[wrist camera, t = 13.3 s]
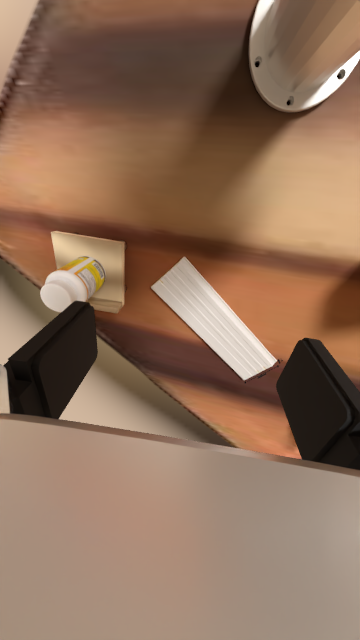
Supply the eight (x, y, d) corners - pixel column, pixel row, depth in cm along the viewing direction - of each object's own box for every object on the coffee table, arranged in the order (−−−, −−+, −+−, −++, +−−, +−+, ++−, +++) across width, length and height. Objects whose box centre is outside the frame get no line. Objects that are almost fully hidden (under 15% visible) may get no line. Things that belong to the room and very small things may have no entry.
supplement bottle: (70, 277, 37) (29, 304, 28) (79, 248, 34) (37, 268, 26) (101, 293, 38) (70, 324, 29) (112, 266, 36) (82, 292, 27)
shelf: (67, 227, 38) (41, 235, 32) (130, 237, 38) (116, 247, 31) (74, 287, 43) (53, 303, 37) (129, 295, 43) (117, 313, 37)
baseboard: (191, 249, 38) (151, 284, 42) (190, 253, 36) (148, 290, 40) (282, 355, 48) (243, 376, 52) (286, 364, 46) (245, 385, 50)
